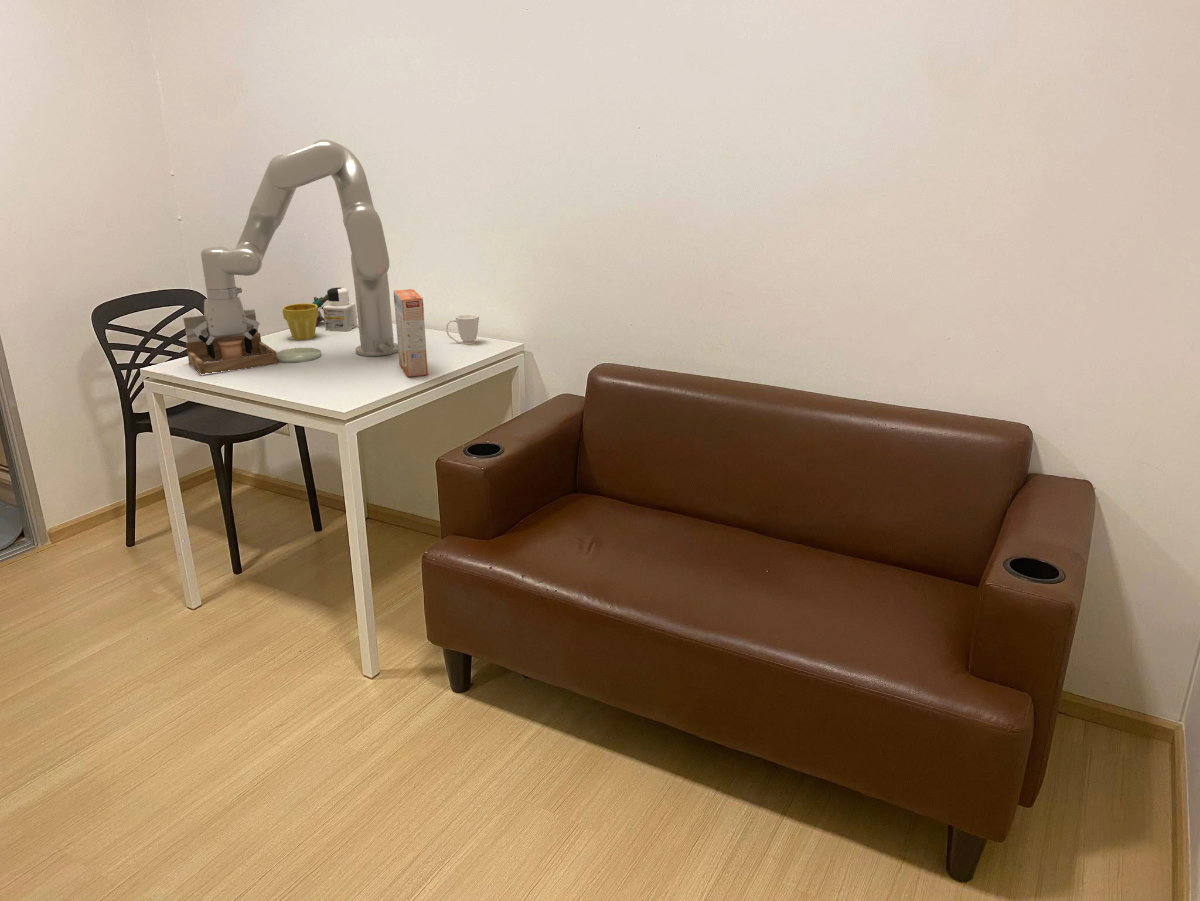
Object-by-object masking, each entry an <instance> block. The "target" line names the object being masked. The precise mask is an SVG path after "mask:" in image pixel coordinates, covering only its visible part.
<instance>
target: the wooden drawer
mask: <svg viewBox="0 0 1200 901" xmlns="http://www.w3.org/2000/svg"><path fill="white" fill-rule="evenodd" d="M243 310H244V314H245V317H246V318H249V319H252V320H255V321H257V317H256V310H255V309H254V308H252V309H251V308H250V309H243ZM182 320H183V324H184V331H185V335H186V342H185V347H186V353H187V359H188V363H189V365H190V366H191V365H192V366H193V367H194V368H193V367H192V366H191V367H192V368H193V369H194V370H195V371H197V370H198V371H199V372H200V373H201V374H205V373H212V372H221V371H228V370H234V371H239V370H238V369H241V370H246V369H245V368H247V369H252V368H251V367H253V368H258V366H259V367H266V366H271V365H277V364H279V363H278V361H277V356H276V353H277V351H276V350H275V349H273V348H272V347H270V346H269V345H267V344H266V343H264V342H263V341H262V337H261V333H260V332H259V331H258V329H259V328H258V329H257V332H256V333H255V335H254V336H253V338H252V339H251V341H252V348H253V349H252V350H251V354H249V353H247V352H246V350H245V343H244V339H245V336H244V335H243V334H237V335H229V336H221V337H215V338H214V339H213V341H212V344H213V346H214V353H215V359H212V358H211V357H210V355H209V356H208V354H207V348H206V343H204V342H203V341H202V340H200V339H199V338H198V337H197V336H196V334H195V333H194V332H193V329H194V328H196V327H197V326H199V325H200V324H202V323H203V322H205V317H204V314H203V315H195V316H186V317H183V319H182ZM246 323H247V322H246ZM251 328H252V324H250V323H247V332H249V331H250V330H251ZM201 334H202V335H203V336H204V337H205V338H206V336H207V335H208V333H207V332H206V328H205V329H203V330H202V331H201ZM228 338H240V339H242V343H241V348H242V354H243V357H242V358H235V359H229V360H220V359H222V356H221V350H220V346H219V345H218V341H219V340H222V339H228ZM213 360H215V361H213ZM207 361H209V362H207ZM198 371H197V372H198ZM199 372H198V373H199ZM228 372H229V371H228ZM200 373H199V374H200ZM201 374H200V375H201Z"/></svg>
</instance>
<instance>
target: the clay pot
mask: <svg viewBox="0 0 1200 901" xmlns="http://www.w3.org/2000/svg"><path fill="white" fill-rule="evenodd" d="M241 343H242V339H240V338H228V339H222V340H219V341H218V345H219V346H220V350H221V356H222V360H229V359H235V358H242V357H244V356H243V354H242V348H241ZM222 360H221V361H222Z"/></svg>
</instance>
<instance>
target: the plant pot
mask: <svg viewBox="0 0 1200 901" xmlns="http://www.w3.org/2000/svg"><path fill="white" fill-rule="evenodd" d="M318 309H319V308H318V306H317V305H316V304H312V303H310V302H309V303H308V302H305V303H304V302H302V303H291V304H287V305H284V306H283V307H282V315H283V319H284V320H285V321H286V324H287V325H288V329H289V330H290V334H291V337H292V339H293V340H297V341H301V340H302V341H304V340H310V339H314V338H315V337H316V328H317V326H316V321H317V317H318V316H319V314H318V311H319V310H318Z"/></svg>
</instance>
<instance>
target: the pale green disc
mask: <svg viewBox="0 0 1200 901" xmlns="http://www.w3.org/2000/svg"><path fill="white" fill-rule="evenodd" d="M276 356H277V363H278V362H279V363H287V364H291V363H292V364H294V363H295V364H296V363H304V362H309V361H315V360H317V359H319V358H321V357H322V351H321V349H319V348H314V347H294V348H287V349H286V348H285V349H283V350H279V351H276Z"/></svg>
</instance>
